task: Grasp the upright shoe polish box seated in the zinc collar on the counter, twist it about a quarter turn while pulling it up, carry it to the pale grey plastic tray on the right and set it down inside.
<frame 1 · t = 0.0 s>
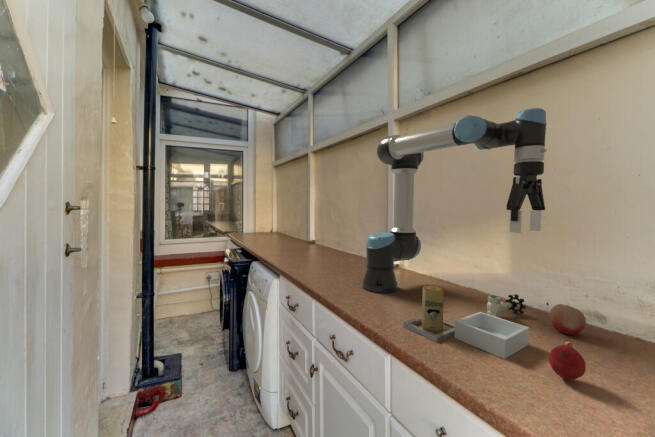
hand: (525, 231, 87), 28 cm above the worktop, tool pointing down, fingers open, 13 cm apart
fruit: (566, 333, 80), on the worktop
shoe polish box: (431, 329, 82), resting in collar
tray: (490, 341, 75), on the worktop
valve: (502, 316, 93), on the worktop
onion: (565, 380, 58), on the worktop
collar: (431, 328, 82), on the worktop
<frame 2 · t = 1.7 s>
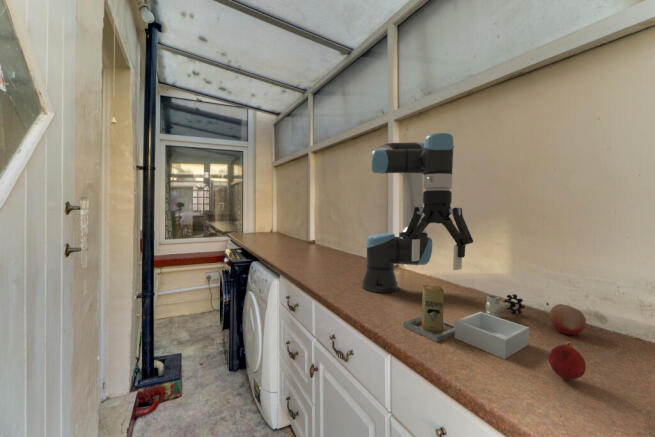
hand: (434, 264, 81), 19 cm above the worktop, tool pointing down, fingers open, 13 cm apart
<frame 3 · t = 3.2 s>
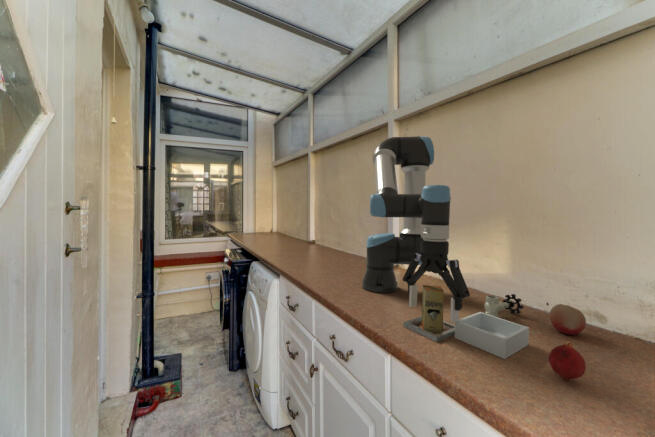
hand: (432, 313, 81), 5 cm above the worktop, tool pointing down, fingers open, 13 cm apart
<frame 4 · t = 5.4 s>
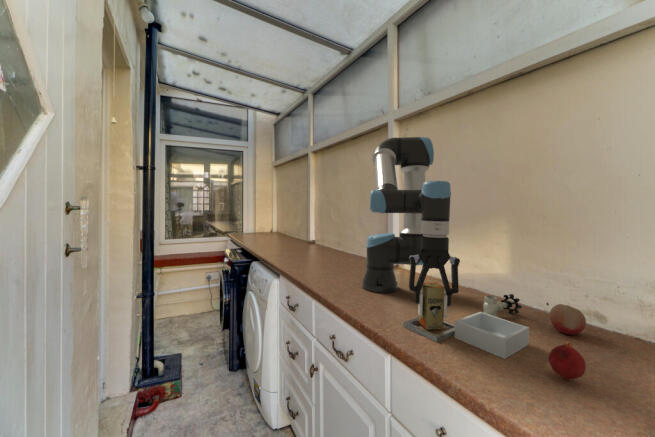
hand: (432, 315, 82), 4 cm above the worktop, tool pointing down, fingers closed on shoe polish box, 6 cm apart
shoe polish box: (430, 326, 83), resting in collar, touching gripper
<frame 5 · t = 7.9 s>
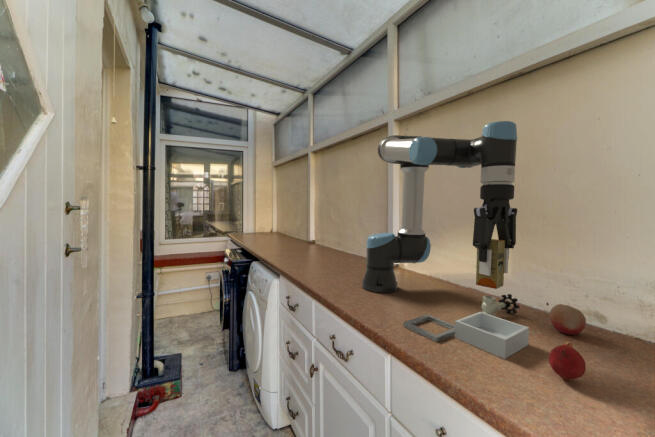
hand: (493, 273, 74), 18 cm above the worktop, tool pointing down, fingers closed on shoe polish box, 6 cm apart
shoe polish box: (489, 285, 75), point 15 cm above the worktop, touching gripper
when the fingers open (5 cm above the worktop, at t = 10.4 s): shoe polish box stays where it is, resting on tray.
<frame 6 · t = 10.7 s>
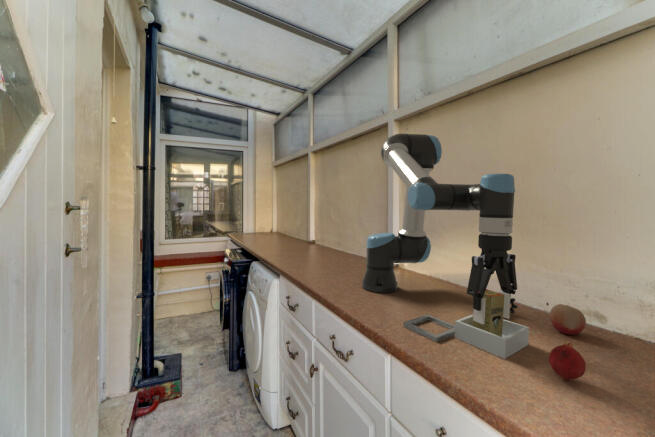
hand: (491, 319, 74), 6 cm above the worktop, tool pointing down, fingers open, 9 cm apart
shoe polish box: (486, 337, 76), resting on tray
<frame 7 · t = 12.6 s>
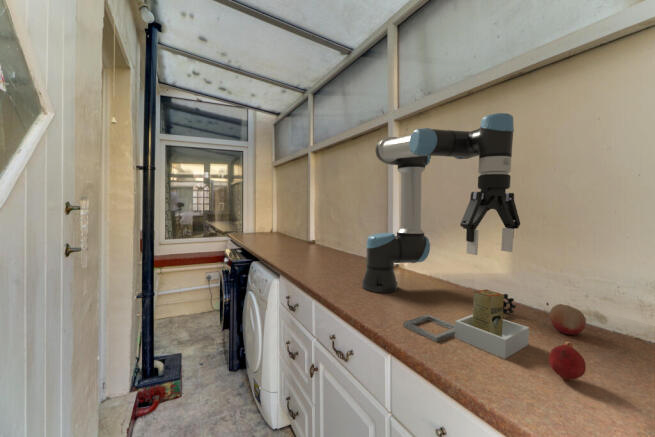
hand: (489, 252, 77), 23 cm above the worktop, tool pointing down, fingers open, 13 cm apart
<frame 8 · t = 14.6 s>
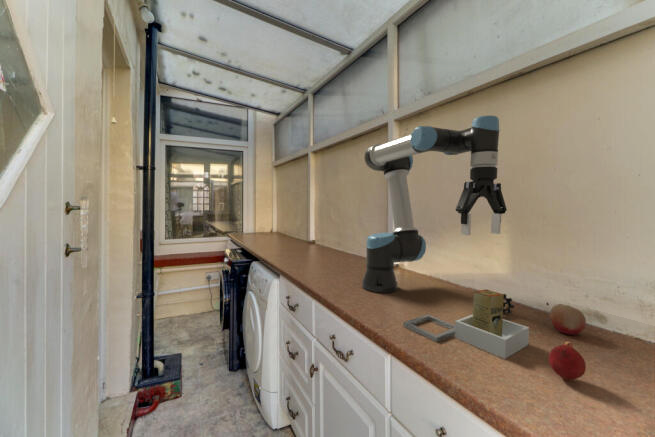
hand: (481, 234, 90), 27 cm above the worktop, tool pointing down, fingers open, 13 cm apart
at the end: shoe polish box inside the target area on the tray (1.1 cm from its centre), point 0.4 cm above the tray's base; the gripper is holding nothing; shoe polish box moved 13.9 cm from its start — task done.
